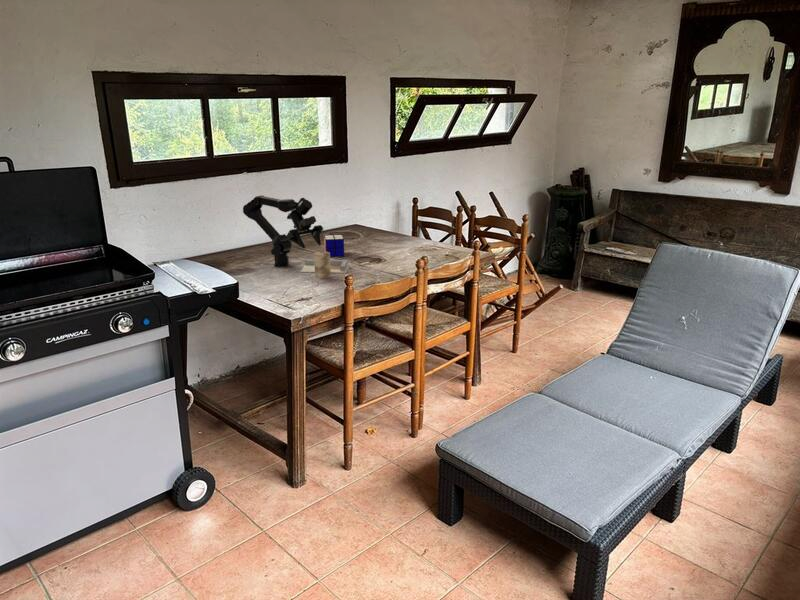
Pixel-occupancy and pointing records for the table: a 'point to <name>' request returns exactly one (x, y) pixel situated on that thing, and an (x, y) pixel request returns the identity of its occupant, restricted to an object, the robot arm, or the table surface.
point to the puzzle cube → (334, 245)
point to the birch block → (322, 264)
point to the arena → (335, 266)
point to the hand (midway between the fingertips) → (312, 246)
